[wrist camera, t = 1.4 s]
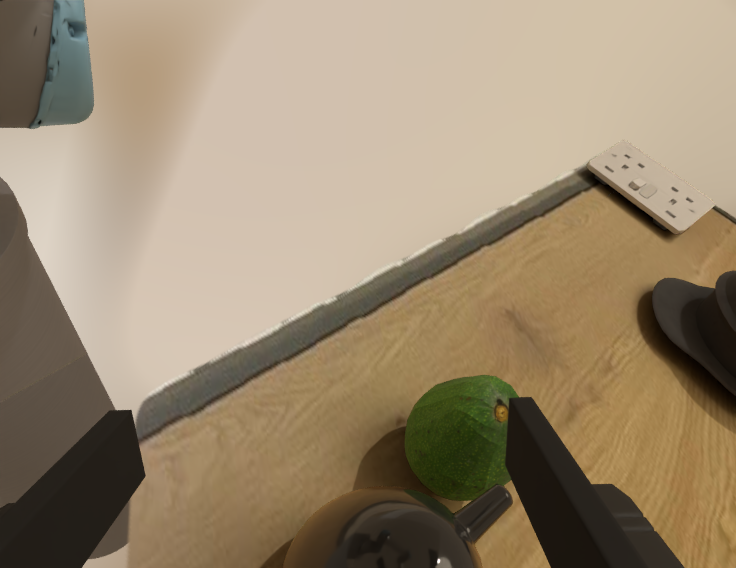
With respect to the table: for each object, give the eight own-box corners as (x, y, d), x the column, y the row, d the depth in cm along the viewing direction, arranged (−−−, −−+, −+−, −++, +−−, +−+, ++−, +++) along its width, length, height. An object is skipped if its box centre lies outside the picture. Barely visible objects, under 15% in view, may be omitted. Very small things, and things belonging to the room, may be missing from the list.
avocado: (369, 458, 33) (419, 390, 24) (427, 394, 38) (486, 318, 29) (449, 540, 31) (537, 500, 22) (500, 462, 36) (590, 402, 27)
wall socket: (705, 210, 70) (724, 191, 67) (674, 260, 63) (694, 242, 59) (602, 153, 76) (614, 134, 73) (562, 193, 69) (574, 174, 65)
